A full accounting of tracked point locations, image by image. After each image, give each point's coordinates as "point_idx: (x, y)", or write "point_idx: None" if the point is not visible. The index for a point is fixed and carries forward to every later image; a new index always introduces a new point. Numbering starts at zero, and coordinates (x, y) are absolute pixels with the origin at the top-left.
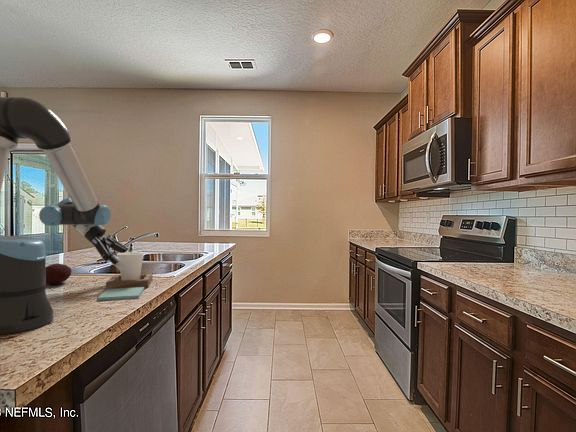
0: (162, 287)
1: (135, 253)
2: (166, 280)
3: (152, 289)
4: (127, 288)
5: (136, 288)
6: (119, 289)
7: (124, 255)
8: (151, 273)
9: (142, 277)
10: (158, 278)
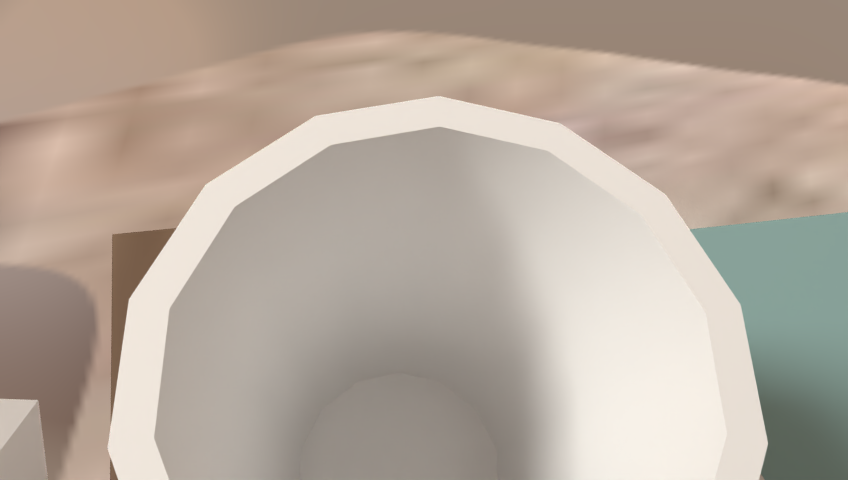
0: (568, 94)
1: (177, 339)
2: (204, 111)
3: (655, 166)
4: (760, 392)
5: (752, 291)
6: (818, 471)
7: (760, 441)
8: (129, 244)
9: None
10: (41, 222)
